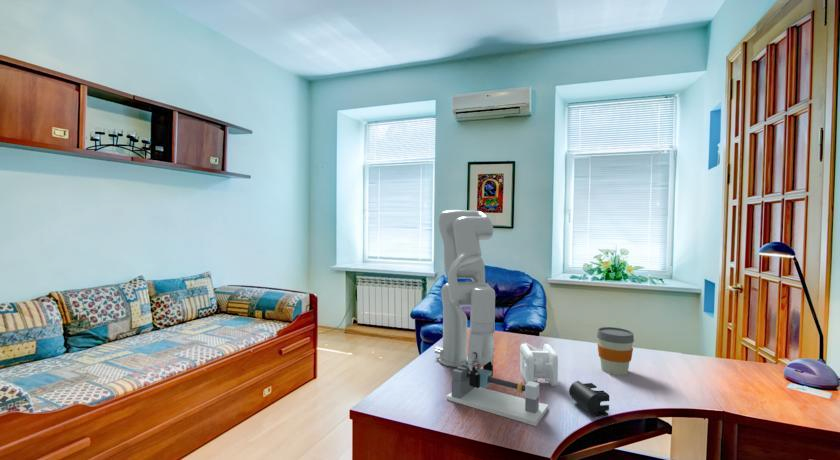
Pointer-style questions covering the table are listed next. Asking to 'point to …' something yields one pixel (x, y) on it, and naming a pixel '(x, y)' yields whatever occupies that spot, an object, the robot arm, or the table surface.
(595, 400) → the end cap
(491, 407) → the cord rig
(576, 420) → the table surface
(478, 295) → the robot arm
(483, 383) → the sleeve
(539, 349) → the pale grey flat piece
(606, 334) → the reusable coffee cup
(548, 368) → the cable organizer
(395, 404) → the table surface
